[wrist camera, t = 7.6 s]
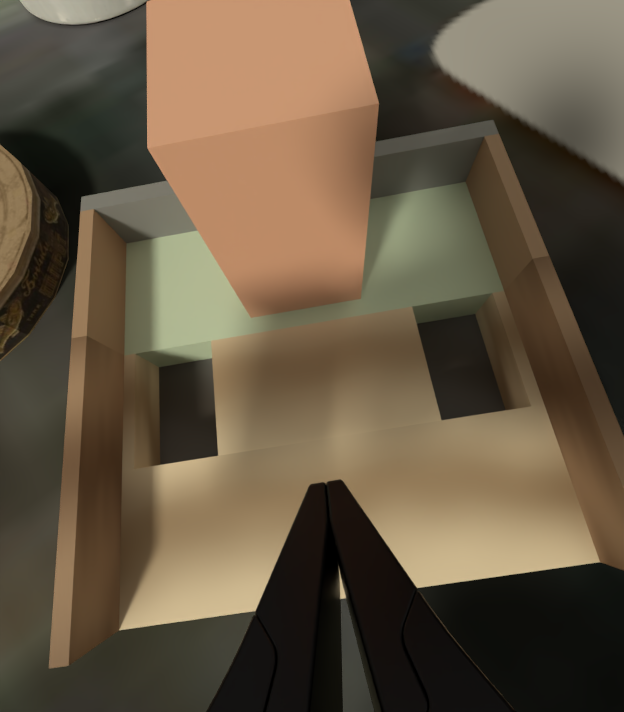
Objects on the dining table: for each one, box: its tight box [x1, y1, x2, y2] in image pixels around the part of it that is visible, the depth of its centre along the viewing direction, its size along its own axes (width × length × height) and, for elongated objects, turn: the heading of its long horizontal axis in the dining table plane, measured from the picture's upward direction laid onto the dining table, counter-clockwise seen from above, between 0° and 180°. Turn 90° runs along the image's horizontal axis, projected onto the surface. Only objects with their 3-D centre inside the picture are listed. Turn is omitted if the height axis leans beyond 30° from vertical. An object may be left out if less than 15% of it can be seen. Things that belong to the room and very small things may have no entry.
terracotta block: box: [147, 0, 379, 318], centre depth 13 cm, size 5×5×9 cm
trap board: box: [49, 256, 624, 668], centre depth 14 cm, size 10×18×5 cm, turn 99°
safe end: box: [72, 120, 549, 367], centre depth 17 cm, size 7×18×5 cm, turn 99°
